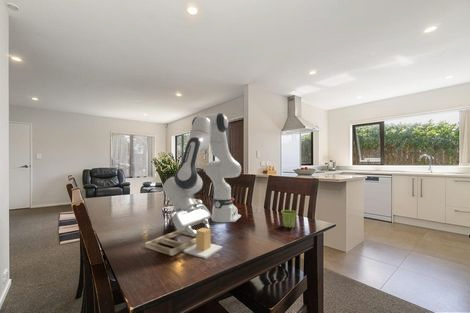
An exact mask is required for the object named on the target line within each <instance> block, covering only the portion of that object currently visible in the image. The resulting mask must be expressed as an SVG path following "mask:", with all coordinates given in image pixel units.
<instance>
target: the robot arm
mask: <svg viewBox="0 0 470 313" xmlns="http://www.w3.org/2000/svg"><path fill="white" fill-rule="evenodd" d="M190 128H191V129H190V133H189V138H188V141H187V144H186V146H185V149H184V153H183V157H182V160H181V163H180V164H179V166H178V167H177V169H176V171H175V173H174V176H171V177H168V179H166V180H165V182H164V183H163V186H162V187H163V191H164V194H165V195H166V197H167V200H168V201H169V202H171V204H172V206H173V208H174V210H172V211H170V214H169V215H170V217H171V219H172V222H173V224H174V227H175V229H176V231H177V230H179V231H182V230H184V229H185V230H186V231H187V232H189V233H191V235H192V236H191V237H193V236H195V235H196V234H197V232H196V230H197V229H196V230H195V229H193V228H192V227H194V226H195V225H199V224H201V223H203V224H204V228H207V229H211V225H210V224H209V219H210V218H211V221H212V222H216V223H235V222H236V221H238V219H239V220H240V218H241V217H242V215H241V214H239V213H238V207H237V206H235V205H234V204H233V202H234V201H235V198H234V197H232V187H231V185H230V184H229V183H228V182H226V180H225V179H227V178H229V179H231V178H233V179H234V178H237V177H239V176H240V175H241V173H242V166H241V164H240V163H239V161H237V160H236V159H234V157H233V156H232V154H231V152H230V149H229V145H228V138H227V133H226V131H227V130H228V128H229V119H228V116H227V115H226V114H225V113H209V114H204V115H197V116H195V117H193V119H192V120H191V127H190ZM209 146H210V150H211V151H210V152H211V154H212V156H213V157H215V158H217V159H218V160H212V161H209V162H207V163H206V164H205V165H204V171H205V174H206V176H208V177H209V178H210V180H211V182H212V184H213V193H214V194H213V195H214V198H213V206H212V212H210V210H209V209H208V208H207V207H206V206H205V205H204V204H203V200H201V199H199V198H198V199H197V198H192V196H193V195H195V194H196V193H198V192H199V191H201V190H202V188H203V184H204V182H203V179H202V177H201V176H200V175H199V174H198V172H197V169H196V164H197V160H198V156H199V153H200V152H203V151H206V150H208V148H209Z"/></svg>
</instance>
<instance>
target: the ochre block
mask: <svg viewBox="0 0 470 313" xmlns="http://www.w3.org/2000/svg"><path fill="white" fill-rule="evenodd" d="M196 232H197V234H196V237H195V238H196V249H198V250H202V251H206V250H207V249H209V248H211V244H212V243H211V241H212V240H211V239H212V235H211V234H212V229H211V228H209V229H207V228H205V227H202V228H199V229H196Z"/></svg>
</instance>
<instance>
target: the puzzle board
mask: <svg viewBox="0 0 470 313" xmlns="http://www.w3.org/2000/svg"><path fill="white" fill-rule="evenodd" d="M180 235H185V236H190V237H194V238H192V239H191V240H188V241H186V242H180V241H176V240H173V239H172V238H175V237H177V236H180ZM161 244H163V245H161ZM195 244H196V235H195V236H192V235H191V233H189V232H187V231H186V229H184V230H182V231H179V230H177V229H176V230H175V231H172V232H170V233H167V234H164V235H162V236H159V237H157V238H154V239H151V240H148V241H145V244H144V248H147V249H150V250H153V251H156V252H159V253H163V254H165V255H168V256H175V255H177V254H178V253H180V252H183V250H185V249H187V248H189V247H191V246H193V245H195ZM164 245H166V246H164ZM168 246H170V247H173V248H170V247H168Z"/></svg>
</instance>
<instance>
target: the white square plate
mask: <svg viewBox="0 0 470 313" xmlns="http://www.w3.org/2000/svg"><path fill="white" fill-rule="evenodd" d="M222 249H223V246H222V245H218V244H214V243H211V248H209V249H207V250H206V251H202V250H198V249H196V244H194V245H192V246H190V247H189V248H187V249H185V250H183V251H182V252H183V253H185V254H189V255H191V256H195V257H197V258H198V257H199V258H202V259H205V260H207V259H208V258H209V257H211V256H213V255H214V254H216V253H217V252H218V251H220V250H222Z"/></svg>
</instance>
